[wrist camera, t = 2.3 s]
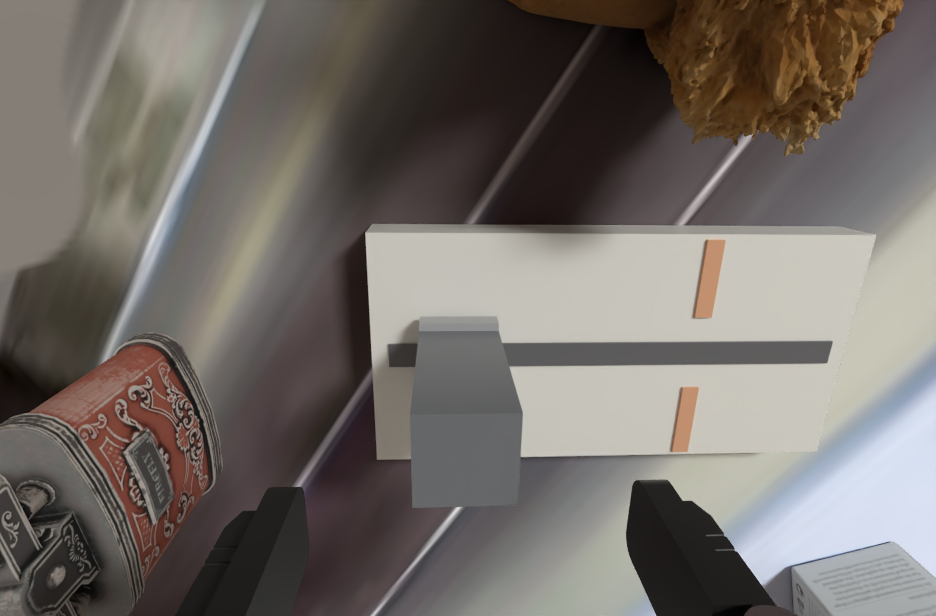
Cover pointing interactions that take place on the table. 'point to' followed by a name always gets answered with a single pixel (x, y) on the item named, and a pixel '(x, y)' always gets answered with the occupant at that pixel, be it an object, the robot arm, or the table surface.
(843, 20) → the stuffed squirrel
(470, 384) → the fader
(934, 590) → the skincare box
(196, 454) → the lighter
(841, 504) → the table surface
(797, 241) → the panel
